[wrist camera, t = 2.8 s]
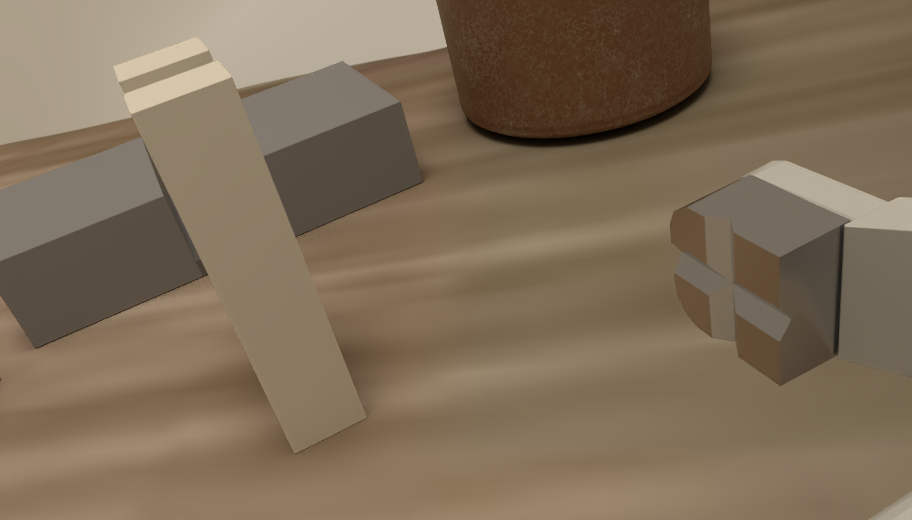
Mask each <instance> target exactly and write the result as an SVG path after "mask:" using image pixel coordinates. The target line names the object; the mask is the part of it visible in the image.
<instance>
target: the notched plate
mask: <svg viewBox="0 0 912 520" xmlns="http://www.w3.org/2000/svg"><path fill="white" fill-rule="evenodd" d="M113 68H114V70H115V73H116V75H117V78H118V81H119V84H120V85H121V88H122V90H123V92H124V97H125V100H126V103H127V105H128V108H129V111H130V113H131V116H132V118H133V120H134V122H135V124H136V126H137V128H138V130H139V132H140V134H141V137H142V139H143V141H144V143H145V145H146V147H147V149H148V151H149V153H150V155H151V157H152V159H153V161H154V163H155V166H156V168H157V170H158V172H159V174H160V176H161V178H162V180H163V182H164V184H165V186H166V188H167V190H168V193H169V195H170V197H171V199H172V201H173V203H174V205H175V207H176V209H177V211H178V213H179V215H180V217H181V220H182V222H183V224H184V226H185V228H186V230H187V232H188V234H189V236H190V238H191V240H192V242H193V244H194V246H195V249H196V251H197V253H198V255H199V257H200V259H201V261H202V263H203V265H204V267H205V269H206V271H207V273H208V276H209V278H210V280H211V282H212V284H213V286H214V288H215V290H216V292H217V294H218V296H219V298H220V300H221V303H222V305H223V307H224V309H225V311H226V313H227V315H228V317H229V319H230V321H231V323H232V325H233V327H234V329H235V332H236V334H237V336H238V338H239V340H240V342H241V344H242V346H243V348H244V350H245V352H246V354H247V356H248V359H249V361H250V363H251V365H252V367H253V369H254V371H255V373H256V375H257V377H258V379H259V381H260V383H261V386H262V388H263V390H264V392H265V394H266V396H267V398H268V400H269V402H270V404H271V406H272V408H273V410H274V412H275V415H276V417H277V419H278V421H279V423H280V425H281V427H282V429H283V431H284V433H285V435H286V437H287V439H288V442H289V444H290V446H291V448H292V450H293V452H294V454H296V453H298V452H300V451H302V450H304V449H306V448H308V447H310V446H312V445H314V444H316V443H318V442H320V441H322V440H324V439H326V438H328V437H330V436H332V435H334V434H336V433H338V432H340V431H342V430H344V429H346V428H347V427H349V426H351V425H353V424H355V423H357V422H359V421H361V420H363V419H365V418H367V416H366V414H365V411H364V409H363V406H362V404H361V401H360V399H359V396H358V394H357V391H356V389H355V386H354V384H353V381H352V378H351V376H350V373H349V371H348V368H347V366H346V363H345V361H344V358H343V356H342V353H341V351H340V348H339V346H338V343H337V341H336V338H335V336H334V333H333V331H332V328H331V326H330V323H329V321H328V318H327V315H326V313H325V310H324V308H323V305H322V303H321V300H320V298H319V295H318V293H317V290H316V288H315V285H314V283H313V280H312V278H311V275H310V273H309V270H308V268H307V265H306V263H305V260H304V257H303V255H302V252H301V250H300V247H299V245H298V242H297V240H296V237H295V235H294V232H293V230H292V227H291V225H290V222H289V220H288V217H287V215H286V212H285V210H284V207H283V205H282V202H281V200H280V197H279V194H278V192H277V189H276V187H275V184H274V182H273V179H272V177H271V174H270V172H269V169H268V167H267V164H266V162H265V159H264V157H263V154H262V152H261V149H260V147H259V144H258V142H257V139H256V136H255V134H254V131H253V129H252V126H251V124H250V121H249V119H248V116H247V114H246V111H245V109H244V106H243V104H242V101H241V99H240V96H239V94H238V91H237V89H236V86H235V84H234V81H233V79H232V77H231V75H230V74H229V73H228V72H227V71H226V70H225V68H224V67H223V66H222V65H221V64H220V63H219V62H218V60H217V61H214V62H213V59H212V57H211V54H210V52H209V50H208V49H207V48H206V46H205V45H204V44H203V43H202V42H201V41H200V39H199V38H198V37H196V38H194V39H190V40H187V41H184V42H182V43H179V44H176V45H173V46H170V47H168V48H165V49H162V50H159V51H156V52H153V53H150V54H147V55H145V56H142V57H139V58H136V59H133V60H130V61H127V62H125V63H122V64H119V65H116V66H114V67H113Z"/></svg>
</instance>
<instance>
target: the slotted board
mask: <svg viewBox="0 0 912 520" xmlns="http://www.w3.org/2000/svg"><path fill="white" fill-rule="evenodd" d="M241 101H242V104H243V106H244V109H245V111H246V114H247V116H248V119H249V121H250V124H251V126H252V129H253V131H254V134H255V136H256V139H257V142H258V144H259V147H260V149H261V152H262V154H263V157H264V159H265V162H266V164H267V167H268V169H269V172H270V174H271V177H272V179H273V182H274V184H275V187H276V189H277V192H278V194H279V197H280V200H281V202H282V205H283V207H284V210H285V212H286V215H287V217H288V220H289V222H290V225H291V227H292V230H293V232H294V235H295V236H298V235H300V234H302V233H305V232H307V231H309V230H312V229H314V228H316V227H319V226H321V225H323V224H326V223H328V222H330V221H333V220H335V219H337V218H340V217H342V216H344V215H347V214H349V213H351V212H354V211H356V210H358V209H360V208H363V207H365V206H367V205H370V204H372V203H374V202H377V201H379V200H381V199H384V198H386V197H388V196H391V195H393V194H395V193H398V192H400V191H402V190H405V189H407V188H409V187H412V186H414V185H416V184H419V183H421V182H423V180H422V177H421V173H420V169H419V166H418V162H417V159H416V155H415V152H414V148H413V145H412V141H411V137H410V134H409V130H408V127H407V123H406V120H405V116H404V112H403V109H402V105H401V102H400V101H399V100H397V99H396V98H395V97H393V96H392V95H390V94H389V93H387V92H386V91H385V90H383V89H382V88H380V87H379V86H377V85H376V84H375V83H373V82H372V81H370V80H369V79H367V78H366V77H365V76H363V75H362V74H360V73H359V72H357V71H356V70H355V69H353V68H352V67H350V66H349V65H347V64H346V63H344V62H343V61H342V62H339V63H337V64H334V65H331V66H328V67H326V68H323V69H320V70H318V71H315V72H313V73H310V74H307V75H305V76H302V77H299V78H297V79H294V80H291V81H289V82H286V83H283V84H281V85H278V86H275V87H273V88H270V89H267V90H265V91H262V92H259V93H257V94H254V95H251V96H249V97H246V98H243V99H241ZM207 274H208V273H207V271H206V269H205V267H204V265H203V263H202V261H201V259H200V257H199V255H198V253H197V251H196V249H195V246H194V244H193V242H192V240H191V238H190V236H189V234H188V232H187V230H186V228H185V226H184V224H183V222H182V220H181V217H180V215H179V213H178V211H177V209H176V207H175V205H174V203H173V201H172V199H171V197H170V195H169V194H168V191H167V189H166V187H165V185H164V183H163V181H162V179H161V177H160V175H159V173H158V171H157V169H156V167H155V164H154V162H153V160H152V158H151V156H150V154H149V152H148V150H147V148H146V146H145V144H144V142H143V140H142V138H141V137H140V138H137V139H135V140H132V141H129V142H127V143H124V144H121V145H119V146H116V147H113V148H111V149H108V150H105V151H103V152H100V153H97V154H95V155H92V156H90V157H87V158H84V159H82V160H79V161H76V162H74V163H71V164H68V165H66V166H63V167H60V168H58V169H55V170H52V171H50V172H47V173H44V174H42V175H39V176H36V177H34V178H31V179H28V180H26V181H23V182H21V183H18V184H15V185H13V186H10V187H7V188H5V189H2V190H0V295H1V297H2V298H3V300H4V301H5V303H6V304H7V306H8V307H9V309H10V310H11V312H12V313H13V315H14V316H15V318H16V319H17V321H18V322H19V324H20V325H21V327H22V328H23V330H24V331H25V333H26V334H27V336H28V337H29V339H30V340H31V342H32V343H33V345H34V346H35V348H37V347H40V346H42V345H44V344H47V343H49V342H51V341H54V340H56V339H58V338H61V337H63V336H65V335H68V334H70V333H72V332H75V331H77V330H79V329H82V328H84V327H86V326H89V325H91V324H93V323H96V322H98V321H100V320H102V319H105V318H107V317H109V316H112V315H114V314H116V313H119V312H121V311H123V310H126V309H128V308H130V307H133V306H135V305H137V304H140V303H142V302H144V301H147V300H149V299H151V298H154V297H156V296H158V295H161V294H163V293H165V292H168V291H170V290H172V289H175V288H177V287H179V286H182V285H184V284H186V283H188V282H191V281H193V280H195V279H198V278H200V277H202V276H205V275H207Z"/></svg>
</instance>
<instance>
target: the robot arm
mask: <svg viewBox="0 0 912 520" xmlns="http://www.w3.org/2000/svg"><path fill="white" fill-rule="evenodd" d="M670 233H671V243H673V244H674V245H675V246H676V247H677V248H678V249H680V250H681V251H682V252H683V253H682V255H681V257H680V259H679V262H678V264H677V266H676V269H675V271H674V277H675V284H676V292H677V296H678V298H679V300H680V302H681V304H682V306H683V308H684V310H685V312H686V314H687V315H688V317H689V318H690V319H691V320H692V321H693V322H694V323H695V325H696V326H697V327H698V328H700V329H701V330H702V331H704V332H705V333H706V334H708V335H709V336H710V337H712V338H716V339H722V340H728V341H734V342H736V347H737V352H738V357H740V358H741V359H742V360H744V361H745V362H747V363H748V364H749V365H751V366H752V367H754V368H755V369H757V370H758V371H759V372H761V373H762V374H764V375H765V376H767V377H768V378H769V379H771V380H772V381H774V382H775V383H776V384H778V385H779V386H781V385H783V384H785V383H787V382H789V381H790V380H792V379H794V378H796V377H798V376H800V375H802V374H803V373H805V372H807V371H809V370H811V369H813V368H815V367H816V366H818V365H820V364H822V363H824V362H826V361H828V360H829V359H831V358H833V357H835V356H837V355H838V359H841V360H845V361H849V362H853V363H857V364H861V365H864V366H868V367H872V368H876V369H880V370H884V371H888V372H892V373H895V374H899V375H903V376H907V377H911V378H912V198H905V197H898V198H896V199H894V200H892V201H890V202H887V201H884V200H882V199H879V198H877V197H874V196H872V195H870V194H867V193H865V192H862V191H860V190H857V189H855V188H852V187H850V186H847V185H845V184H842V183H840V182H837V181H835V180H833V179H830V178H828V177H825V176H823V175H820V174H818V173H815V172H813V171H810V170H808V169H805V168H803V167H801V166H798V165H796V164H793V163H791V162H788V161H771V162H769V163H767V164H765V165H763V166H762V167H760V168H758V169H756V170H754V171H752V172H750V173H748V174H746V175H744V176H742V177H740V179H739V180H737V181H735V182H733V183H731V184H729V185H727V186H725V187H723V188H721V189H719V190H717V191H715V192H713V193H711V194H709V195H707V196H705V197H702V198H700V199H698V200H696V201H694V202H692V203H690V204H688V205H686V206H684V207H682V208H680V209H678V210H676V211H674V212H673V215H672V219H671V222H670ZM868 520H912V491H910V492H909V493H907V494H906V495H904V496H903V497H901V498H900V499H898V500H897V501H895V502H894V503H892V504H891V505H889V506H888V507H886V508H885V509H883V510H882V511H880V512H879V513H877V514H875V515H874V516H872V517H871V518H869V519H868Z"/></svg>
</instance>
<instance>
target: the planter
mask: <svg viewBox="0 0 912 520" xmlns="http://www.w3.org/2000/svg"><path fill="white" fill-rule="evenodd" d="M436 2H437V6H438V10H439V14H440V18H441V23H442V26H443V31H444V35H445V39H446V44H447V48H448V52H449V56H450V61H451V65H452V69H453V73H454V77H455V82H456V86H457V90H458V94H459V99H460V103H461V107H462V110H463V112H464V114H465V115H466V116H467V117H468V118H469V119H470V120H471V121H472V122H473V123H474V124H476V125H478V126H480V127H482V128H484V129H486V130H489V131H492V132H496V133H499V134H503V135H508V136H514V137H522V138H564V137H574V136H582V135H588V134H594V133H599V132H604V131H608V130H613V129H617V128H620V127H624V126H627V125H631V124H634V123H637V122H640V121H642V120H645V119H648V118H650V117H653V116H655V115H657V114H659V113H662V112H664V111H666V110H668V109H669V108H671V107H673V106H675V105H676V104H678V103H680V102H681V101H683V100H684V99H686V98H687V97H688V96H690V95H691V94H692V93H694V92H695V91H696V90H697V89H698V88H699V87H700V86H701V85H702V84H703V83H704V81H705V80H706V78H707V76H708V75H709V73H710V70H711V66H712V54H711V36H710V16H709V0H436Z"/></svg>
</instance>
